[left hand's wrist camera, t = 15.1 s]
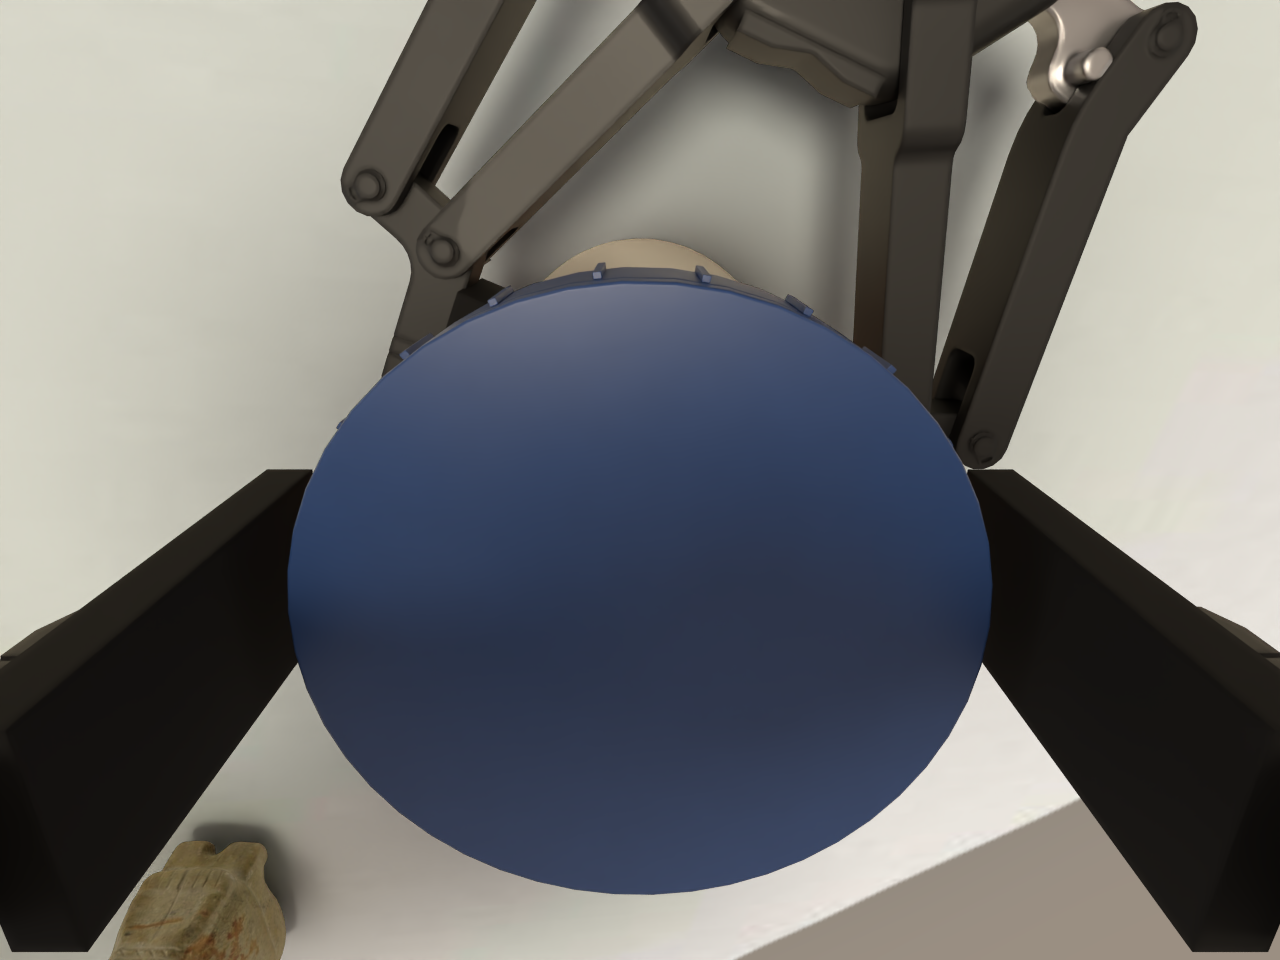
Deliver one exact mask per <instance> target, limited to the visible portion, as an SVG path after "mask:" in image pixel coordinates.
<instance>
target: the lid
mask: <svg viewBox="0 0 1280 960" xmlns="http://www.w3.org/2000/svg"><path fill="white" fill-rule="evenodd" d="M812 313H813V310H812V309H811V308H809V307H808V306H806V305H805V304H804V303H802V302H801V301H799V300H798V299H796V298H795V297H793V296H791V295H789V294H788V295H787V297H786V299H785V300H784V299H781V298H779V297H777V296H775V295H773V294H771V293H768V292H766V291H764V290H762V289H760V288H757V287H753V286H750V285H747V284H743V283H740V282H737V281H733V280H730V279H727V278H724V277H720V276H717V275H712V274H709V273H708V271H707V270H706V269H705V268H704V267H703V266H698V265H696V267H695V272H693V271H687V270H680V269H674V268H650V267H619V268H610V269H606V263H605V262H603V263H598V264H597V265H596V267H595V269H594V270H593V271H584V272H577V273H573V274H569V275H565V276H561V277H557V278H553V279H550V280H546V281H542V282H538V283H534V284H532V285H529V286H527V287H524V288H522V289H519V290H517V291H513V289H512V287H511V286H508V287H506V288H504V289H503V290H501V291H500V292H498V293H497V294H496V295H494V296H493V297H491V298H490V299H489V300H488V303H487V304H485V305H484V306H482V307H480V308H479V309H477V310H475V311H473V312H472V313H470V314H468V315H467V316H465V317H463V318H461V319H460V320H458V321H456V322H454V323H453V324H452V325H450V326H449V327H447V328H446V329H445V330H443V331H442V332H440V333H439V334H438V335H436V336H435V337H434V336H433V335H432V334H431V333H429V334H428V335H426V336H425V337H423V338H422V339H420V340H419V341H418V342H416V343H415V344H413V345H412V346H410V347H409V348H407V349H406V350H404V351H403V352H402V353H401V354H400V356H401V358H402V359H403V361H402V362H401V363H399V364H398V365H397V366H396V367H394V368H393V369H392V370H391V371H389V372H388V373H387V374H385V375H384V376H383V377H382V378H381V379H380V380H379V381H378V382H377V384H376V385H375V386H374V387H373V388H372V389H371V390H370V391H369V392H368V393H367V394H366V395H365V396H364V397H363V398H362V400H361V401H360V402H359V403H358V404H357V405H356V406H355V407H354V408H353V409H352V410H351V411H350V413H349V414H348V416H347V417H346V418H345V419H343V420H342V421H341V422H340V423H339V424H338V426H337V429H338V430H337V432H336V433H335V435H334V436H333V438H332V439H331V440H330V442H329V443H328V445H327V446H326V448H325V449H324V451H323V454H322V456H321V458H320V460H319V462H318V464H317V466H316V468H315V470H314V472H313V474H312V476H311V478H310V481H309V483H308V485H307V487H306V489H305V492H304V496H303V499H302V502H301V506H300V509H299V512H298V516H297V519H296V522H295V525H294V529H293V535H292V542H291V549H290V557H289V564H288V572H287V573H288V615H289V621H290V627H291V633H292V639H293V645H294V651H295V654H296V658H297V661H298V664H299V667H300V670H301V673H302V676H303V679H304V682H305V685H306V689H307V691H308V693H309V695H310V697H311V699H312V701H313V703H314V705H315V707H316V709H317V712H318V714H319V716H320V718H321V720H322V722H323V724H324V726H325V727H326V729H327V730H328V732H329V733H330V735H331V736H332V738H333V739H334V741H335V742H336V744H337V745H338V747H339V748H340V750H341V751H342V753H343V754H344V756H345V757H346V758H347V760H348V761H349V762H350V763H351V764H352V765H353V767H354V768H355V769H356V770H357V771H358V772H359V774H360V775H361V776H362V777H363V778H364V779H365V780H366V782H367V783H368V784H369V785H370V786H371V787H372V788H373V789H374V790H375V791H376V792H377V793H378V794H379V795H381V796H382V797H383V798H384V799H385V800H386V801H387V802H388V803H389V804H390V805H392V806H393V807H394V808H395V809H396V810H397V811H398V812H399V813H401V814H402V815H403V816H405V817H406V818H408V819H409V820H410V821H412V822H413V823H414V824H416V825H417V826H419V827H420V828H421V829H423V830H424V831H426V832H427V833H428V834H430V835H431V836H433V837H435V838H437V839H438V840H440V841H442V842H444V843H445V844H447V845H449V846H451V847H452V848H454V849H456V850H458V851H459V852H461V853H463V854H465V855H467V856H470V857H472V858H474V859H476V860H479V861H481V862H483V863H486V864H488V865H490V866H492V867H495V868H497V869H499V870H502V871H505V872H509V873H512V874H515V875H518V876H521V877H524V878H527V879H531V880H534V881H537V882H541V883H546V884H551V885H556V886H560V887H565V888H570V889H574V890H583V891H591V892H600V893H609V894H642V895H655V894H667V893H680V892H692V891H698V890H703V889H709V888H714V887H720V886H725V885H731V884H734V883H738V882H741V881H745V880H748V879H752V878H755V877H759V876H763V875H766V874H769V873H772V872H774V871H777V870H779V869H782V868H784V867H787V866H789V865H792V864H794V863H797V862H799V861H802V860H804V859H806V858H808V857H810V856H812V855H814V854H816V853H818V852H820V851H822V850H823V849H825V848H827V847H829V846H831V845H833V844H835V843H837V842H839V841H840V840H842V839H843V838H845V837H846V836H848V835H849V834H851V833H852V832H854V831H855V830H857V829H858V828H860V827H861V826H863V825H864V824H866V823H867V822H869V821H870V820H871V819H873V818H874V817H875V816H876V815H877V814H878V813H880V812H881V811H882V810H883V809H884V808H886V807H887V806H888V805H889V804H890V803H892V802H893V801H894V800H895V799H896V798H897V797H899V796H900V795H901V794H902V793H903V792H904V791H905V789H906V788H907V787H908V786H909V785H910V784H911V783H912V782H913V781H914V780H915V779H916V778H917V777H918V776H919V774H920V773H921V772H922V771H923V770H924V769H925V768H926V767H927V766H928V764H929V763H930V761H931V760H932V759H933V757H934V756H935V755H936V753H937V752H938V750H939V749H940V748H941V746H942V745H943V743H944V742H945V741H946V739H947V738H948V737H949V735H950V733H951V731H952V729H953V728H954V726H955V724H956V722H957V720H958V718H959V717H960V715H961V713H962V711H963V709H964V707H965V705H966V704H967V702H968V699H969V697H970V694H971V691H972V689H973V686H974V683H975V681H976V678H977V675H978V673H979V670H980V667H981V664H982V660H983V655H984V651H985V646H986V642H987V637H988V633H989V628H990V617H991V602H992V587H993V584H992V572H991V561H990V549H989V541H988V537H987V533H986V529H985V525H984V521H983V517H982V513H981V509H980V505H979V501H978V499H977V497H976V494H975V492H974V489H973V487H972V485H971V482H970V480H969V478H968V475H967V473H966V470H965V468H964V466H963V463H962V461H961V460H960V458H959V456H958V455H957V453H956V451H955V450H954V448H953V444H952V442H951V440H950V439H949V438H947V437H946V435H945V434H944V432H943V430H942V429H941V427H940V425H939V424H938V422H937V421H936V420H935V419H934V418H933V417H932V415H931V414H930V413H929V412H928V411H927V409H926V408H925V407H924V406H923V405H922V404H921V402H920V401H919V400H918V399H917V398H916V397H915V395H914V394H913V393H912V392H911V391H910V389H909V388H908V387H907V386H906V385H904V384H903V383H902V382H901V381H900V380H899V379H898V378H896V377H895V376H894V375H893V373H894V372H895V371H896V369H895V368H894V367H893V366H892V365H891V364H890V363H888V362H887V361H885V360H884V359H882V358H881V357H880V356H878V355H877V354H875V353H874V352H872V351H871V350H869V349H868V348H866V347H865V346H864V347H863V348H860V347H859V346H857V345H856V344H855V343H853V342H852V341H850V340H849V339H848V338H846V337H845V336H843V335H842V334H841V333H839V332H838V331H836V330H835V329H833V328H832V327H830V326H828V325H827V324H825V323H824V322H822V321H821V320H819V319H818V318H816V317H815V316H813V315H812Z"/></svg>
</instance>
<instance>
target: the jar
mask: <svg viewBox="0 0 1280 960" xmlns="http://www.w3.org/2000/svg"><path fill="white" fill-rule="evenodd" d="M603 262H605V263H606V269H610V268H619V267H650V268H674V269H680V270H687V271H693V272H695V267H696V265H698V266H703V267H704V268H705V269H706V270H707V271H708V273H709V274H712V275H717V276H720V277H724V278H727V279H730V280H733V281H736V280H735V279H734V278H733V277H732V276H731V275H730V274H729V273H727V272H726V271H725V270H724V269H723V268H722V267H720V266H719V265H718V264H717V263H715V262H714V261H712V260H711V259H709V258H707V257H706V256H704V255H703V254H701V253H698V252H696V251H694V250H692V249H690V248H688V247H685V246H682V245H678V244H675V243H672V242H668V241H662V240H656V239H635V238H634V239H625V240H616V241H613V242H609V243H605V244H601V245H598V246H595V247H593V248H590V249H588V250H585V251H583V252H581V253H579V254H578V255H576V256H574V257H572V258H571V259H569V260H567V261H566V262H565V263H563V264H562V265H561V266H560V267H558V268H557V269H556V270H554V271H553V272H552V273H551V274H550V275H549V276H548V277H547V278H546V279H545V280H543V281H546V280H550V279H553V278H557V277H561V276H565V275H569V274H573V273H577V272H584V271H593V270H594V269H595V267H596V265H597V264H598V263H603Z"/></svg>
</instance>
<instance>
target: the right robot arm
mask: <svg viewBox="0 0 1280 960" xmlns="http://www.w3.org/2000/svg"><path fill="white" fill-rule="evenodd" d="M535 2H536V0H428V1H427V3H426V5H425V7H424V9H423V11H422V13H421V15H420V17H419V19H418V21H417V23H416V25H415V27H414V29H413V31H412V33H411V35H410V37H409V39H408V41H407V43H406V45H405V47H404V49H403V51H402V53H401V55H400V57H399V59H398V61H397V63H396V65H395V67H394V69H393V71H392V73H391V75H390V77H389V79H388V81H387V83H386V85H385V87H384V89H383V91H382V93H381V95H380V97H379V99H378V101H377V103H376V105H375V107H374V109H373V111H372V113H371V115H370V117H369V119H368V121H367V123H366V125H365V127H364V129H363V131H362V133H361V135H360V137H359V139H358V141H357V143H356V145H355V147H354V149H353V151H352V153H351V155H350V157H349V159H348V161H347V162H346V164H345V166H344V169H343V172H342V176H341V187H342V193H343V195H344V196H345V198H346V200H347V202H348V204H349V205H350V206H352V207H353V208H354V209H355V210H356V211H357V212H359V213H362V214H364V215H366V216H371V217H372V218H373V219H374V220H376V221H377V222H378V223H379V224H380V225H381V226H382V227H384V228H385V229H386V230H387V231H388V232H389V233H390V234H392V235H393V236H394V237H395V238H396V239H397V240H398V241H399V242H400V243H401V244H402V245H403V247H404V248H405V250H406V252H407V254H408V256H409V260H410V263H411V277H410V282H409V286H408V289H407V292H406V296H405V299H404V302H403V306H402V309H401V312H400V316H399V319H398V322H397V326H396V329H395V332H394V337H393V339H392V343H391V346H390V349H389V354H388V356H387V359H386V363H385V366H384V369H383V373H382V377H383V376H384V375H385V374H387V373H388V372H389V371H391V370H392V369H393V368H394V367H396V366H397V365H398V364H399V363H401V362H402V361H403V359H402V358H401V356H400V354H401V353H402V352H403V351H404V350H406V349H407V348H409V347H410V346H412V345H413V344H415V343H416V342H418V341H419V340H420V339H422V338H423V337H425V336H426V335H428V334H429V333H431V334H432V335H433V336H434V337H435V336H436V335H438V334H439V333H440V332H442V331H443V330H445V329H446V328H447V327H449V326H450V325H452V324H453V323H454V322H456V321H458V320H460V319H461V318H463V317H465V316H467V315H468V314H470V313H472V312H473V311H475V310H477V309H479V308H480V307H482V306H484V305H485V304H487V303H488V300H489V299H490V298H491V297H493V296H494V295H496V294H497V293H498V292H500V291H501V290H503V289H504V287H502V286H499V285H497V284H494V283H492V282H490V281H487V280H485V279H480V280H479V278H480V275H481V272H482V269H483V266H484V264H486V263H488V262H489V261H491V259H490V258H491V257H492V256H493V255H494V254H495V253H496V252H497V251H498V250H499V249H500V248H501V247H502V246H503V245H504V244H505V243H506V242H507V241H508V240H509V239H510V238H511V237H512V236H513V235H514V234H515V233H516V232H517V231H518V230H519V229H520V228H521V227H522V226H523V225H524V224H525V223H526V222H527V221H528V220H529V219H530V218H531V217H532V216H533V215H534V214H535V213H536V212H537V211H538V210H539V209H540V208H541V207H542V206H543V205H544V204H545V203H546V202H547V201H548V200H549V199H550V198H551V197H552V196H553V195H554V194H555V193H556V192H557V191H558V190H559V189H560V188H561V187H562V186H563V185H564V184H565V183H566V182H567V181H568V180H569V179H570V178H571V177H572V176H573V175H574V174H575V173H576V172H577V171H578V170H579V169H580V168H581V167H582V166H583V165H584V164H585V163H586V162H587V161H588V160H589V159H590V158H591V157H593V156H594V155H595V154H596V153H597V152H598V151H599V150H600V149H601V148H602V147H603V146H604V145H605V144H606V143H607V142H608V141H609V140H610V139H611V138H612V137H613V136H614V135H615V134H616V133H617V132H618V131H619V130H620V129H621V128H622V127H623V126H624V125H625V124H626V123H627V122H628V121H629V120H630V119H631V118H632V117H633V116H634V115H635V114H636V113H637V112H638V111H639V110H640V109H641V108H642V107H643V106H644V105H645V104H646V103H647V102H648V101H649V100H650V99H651V98H652V97H653V96H654V95H655V94H656V93H657V92H658V91H659V90H660V89H661V88H662V87H663V86H664V85H665V84H666V83H667V82H668V81H669V80H670V79H671V78H672V77H673V76H674V75H675V74H676V73H678V72H679V71H680V70H681V69H683V68H684V67H685V66H686V65H687V64H688V63H689V62H690V61H691V60H692V59H693V58H694V57H695V56H696V55H697V54H698V53H699V52H700V51H701V50H702V49H703V48H704V47H705V46H706V45H707V44H708V43H709V42H710V41H711V40H712V39H713V38H714V37H715V36H716V35H717V34H718V33H720V34H721V35H722V36H723V37H724V38H725V39H726V40H727V41H728V42H729V43H728V46H727V48H726V49H729V50H731V51H733V52H735V53H737V54H739V55H741V56H743V57H745V58H747V59H749V60H751V61H753V62H755V63H758V64H765V65H771V66H778V67H785V68H791V69H793V70H795V71H796V72H797V73H798V74H799V75H801V76H802V77H803V78H804V79H805V80H806V81H807V82H808V83H809V84H810V85H811V86H812V87H814V88H815V89H816V90H817V91H818V92H819V93H820V94H822V95H824V96H826V97H828V98H830V99H832V100H834V101H836V102H838V103H840V104H843V105H845V106H847V107H849V108H852V107H854V106H857V105H859V115H858V136H857V146H858V153H859V156H860V159H861V164H862V171H861V192H860V212H859V232H858V252H857V272H856V293H855V313H854V333H853V343H855V344H856V345H857V346H859V347H860V348H863V347H864V346H865V347H866V348H868V349H869V350H871V351H872V352H874V353H875V354H877V355H878V356H880V357H881V358H882V359H884V360H885V361H887V362H888V363H890V364H891V365H892V366H893V367H894V368H895V369H896V371H895V372H894V373H893V375H894V376H895V377H896V378H898V379H899V380H900V381H901V382H902V383H903V384H904V385H906V386H907V387H908V388H909V389H910V391H911V392H912V393H913V394H914V395H915V397H916V398H917V399H918V400H919V401H920V402H921V404H922V405H923V406H924V407H925V408H926V409H927V411H928V412H929V413H930V414H931V415H932V417H933V418H934V419H935V420H936V421H937V422H938V424H939V425H940V427H941V429H942V430H943V432H944V434H945V435H946V437H947V438H949V439H950V440H951V442H952V444H953V448H954V450H955V451H956V453H957V455H958V456H959V458H960V460H961V461H962V463H963V464H964V465H965V466H967V467H970V468H972V469H985V468H987V467H990V466H993V465H994V464H995V463H997V462H998V461H999V460H1000V459H1001V458H1002V457H1003V455H1004V453H1005V452H1006V450H1007V448H1008V445H1009V442H1010V440H1011V437H1012V435H1013V432H1014V429H1015V427H1016V424H1017V422H1018V419H1019V416H1020V414H1021V411H1022V409H1023V406H1024V403H1025V401H1026V398H1027V396H1028V393H1029V390H1030V388H1031V385H1032V383H1033V380H1034V378H1035V375H1036V372H1037V370H1038V367H1039V365H1040V362H1041V359H1042V357H1043V354H1044V352H1045V349H1046V346H1047V344H1048V341H1049V339H1050V336H1051V333H1052V331H1053V328H1054V326H1055V323H1056V320H1057V318H1058V315H1059V313H1060V310H1061V307H1062V305H1063V302H1064V300H1065V297H1066V294H1067V292H1068V289H1069V287H1070V284H1071V281H1072V279H1073V276H1074V274H1075V271H1076V268H1077V266H1078V263H1079V261H1080V258H1081V256H1082V253H1083V250H1084V248H1085V245H1086V243H1087V240H1088V237H1089V235H1090V232H1091V230H1092V227H1093V224H1094V222H1095V219H1096V217H1097V214H1098V211H1099V209H1100V206H1101V204H1102V201H1103V198H1104V196H1105V193H1106V191H1107V188H1108V185H1109V183H1110V180H1111V178H1112V175H1113V172H1114V170H1115V167H1116V165H1117V162H1118V159H1119V157H1120V154H1121V152H1122V149H1123V146H1124V144H1125V141H1126V139H1127V136H1128V135H1129V133H1130V132H1131V131H1132V129H1133V128H1134V127H1135V125H1136V124H1137V123H1138V121H1139V120H1140V119H1141V117H1142V116H1143V115H1144V113H1145V112H1146V111H1147V109H1148V108H1149V107H1150V105H1151V104H1152V103H1153V101H1154V100H1155V99H1156V97H1157V96H1158V95H1159V93H1160V92H1161V91H1162V89H1163V88H1164V87H1165V85H1166V84H1167V83H1168V82H1169V80H1170V79H1171V78H1172V76H1173V75H1174V74H1175V72H1176V71H1177V70H1178V68H1179V67H1180V66H1181V64H1182V63H1183V62H1184V60H1185V59H1186V58H1187V56H1188V55H1189V53H1190V51H1191V49H1192V47H1193V46H1194V44H1195V41H1196V35H1197V30H1198V27H1197V22H1196V16H1195V15H1194V14H1193V12H1192V11H1191V9H1190V8H1189V7H1188V6H1186V5H1184V4H1181V3H1179V2H1170V3H1164V4H1161V5H1158V6H1155V7H1153V8H1150V9H1147V10H1142V9H1141V8H1139V7H1138V6H1136V5H1135V4H1134V3H1133V2H1131V1H1130V0H642V1H641V2H640V3H639V4H638V6H637V7H636V8H635V9H634V10H633V11H632V12H631V13H630V14H629V15H628V16H627V17H626V18H625V19H624V20H623V21H622V22H621V23H620V25H619V26H618V27H617V28H616V29H615V30H614V31H613V32H612V33H611V34H610V35H609V36H608V37H607V38H606V39H605V40H604V41H603V42H602V43H601V44H600V45H599V46H598V47H597V48H596V49H595V51H594V52H593V53H592V54H591V55H590V56H589V57H588V58H587V59H586V60H585V61H584V62H583V63H582V64H581V65H580V66H579V67H578V68H577V69H576V70H575V71H574V72H573V73H572V74H571V75H570V77H569V78H568V79H567V80H566V81H565V82H564V83H563V84H562V85H561V86H560V87H559V88H558V89H557V90H556V91H555V92H554V93H553V94H552V95H551V96H550V97H549V98H548V99H547V100H546V101H545V102H544V104H543V105H542V106H541V107H540V108H539V109H538V110H537V111H536V112H535V113H534V114H533V115H532V116H531V117H530V118H529V119H528V120H527V121H526V122H525V123H524V124H523V125H522V126H521V127H520V128H519V130H518V131H517V132H516V133H515V134H514V135H513V136H512V137H511V138H510V139H509V140H508V141H507V142H506V143H505V144H504V145H503V146H502V147H501V148H500V149H499V150H498V151H497V152H496V153H495V154H494V156H493V157H492V158H491V159H490V160H489V161H488V162H487V163H486V164H485V165H484V166H483V167H482V168H481V169H480V170H479V171H478V172H477V173H476V174H475V175H474V176H473V177H472V178H471V179H470V180H469V182H468V183H467V184H466V185H465V186H464V187H463V188H462V189H461V190H460V191H459V192H458V193H457V194H456V195H455V196H454V197H453V198H452V199H451V200H450V199H449V198H448V197H447V196H446V195H445V194H444V193H442V192H441V191H440V190H439V189H438V188H437V187H436V186H435V185H436V183H437V181H438V179H439V178H440V176H441V174H442V172H443V170H444V168H445V167H446V165H447V163H448V161H449V159H450V157H451V156H452V154H453V152H454V150H455V148H456V147H457V145H458V143H459V141H460V139H461V137H462V136H463V134H464V132H465V130H466V128H467V126H468V125H469V123H470V121H471V119H472V117H473V115H474V114H475V112H476V110H477V108H478V106H479V105H480V103H481V101H482V99H483V97H484V95H485V94H486V92H487V90H488V88H489V86H490V84H491V83H492V81H493V79H494V77H495V75H496V73H497V72H498V70H499V68H500V66H501V64H502V62H503V61H504V59H505V57H506V55H507V53H508V52H509V50H510V48H511V46H512V44H513V42H514V41H515V39H516V37H517V35H518V33H519V31H520V30H521V28H522V26H523V24H524V22H525V20H526V19H527V17H528V15H529V13H530V11H531V9H532V8H533V6H534V4H535ZM1027 21H1028V22H1029V23H1030V24H1031V25H1032V26H1033V28H1034V30H1035V33H1036V35H1037V43H1038V46H1037V53H1036V56H1035V59H1034V61H1033V64H1032V66H1031V68H1030V71H1029V75H1028V78H1027V82H1026V83H1027V88H1028V90H1029V91H1030V93H1031V95H1032V97H1033V98H1034V99H1035V102H1034V104H1033V105H1032V107H1031V108H1030V110H1029V111H1028V113H1027V115H1026V117H1025V119H1024V121H1023V123H1022V125H1021V127H1020V129H1019V131H1018V133H1017V135H1016V137H1015V140H1014V143H1013V145H1012V148H1011V150H1010V153H1009V155H1008V158H1007V161H1006V164H1005V167H1004V170H1003V173H1002V176H1001V179H1000V182H999V185H998V188H997V191H996V194H995V197H994V200H993V203H992V206H991V209H990V212H989V215H988V218H987V221H986V224H985V227H984V230H983V233H982V236H981V239H980V242H979V245H978V248H977V251H976V254H975V256H974V259H973V262H972V265H971V268H970V271H969V274H968V277H967V280H966V283H965V286H964V289H963V292H962V295H961V298H960V301H959V304H958V307H957V310H956V313H955V316H954V319H953V322H952V325H951V328H950V331H949V334H948V337H947V340H946V343H945V346H944V349H943V352H942V355H941V358H940V361H939V364H938V367H937V370H936V372H935V375H934V364H935V353H936V342H937V331H938V320H939V308H940V297H941V286H942V275H943V264H944V252H945V241H946V230H947V219H948V208H949V197H950V185H951V174H952V163H953V157H954V154H955V152H956V150H957V148H958V146H959V145H960V143H961V141H962V138H963V135H964V131H965V125H966V117H967V106H968V95H969V85H970V74H971V63H972V56H974V55H975V54H977V53H978V52H980V51H982V50H983V49H985V48H986V47H988V46H990V45H991V44H993V43H994V42H996V41H997V40H999V39H1001V38H1002V37H1004V36H1005V35H1007V34H1008V33H1010V32H1012V31H1013V30H1015V29H1016V28H1018V27H1019V26H1021V25H1023V24H1024V23H1026V22H1027ZM933 376H934V378H933Z"/></svg>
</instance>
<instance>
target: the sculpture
mask: <svg viewBox="0 0 1280 960" xmlns="http://www.w3.org/2000/svg"><path fill="white" fill-rule="evenodd" d="M267 855H268V854H267V850H266V848H265V847H264V846H263V845H262V844H260V843H251V842H235V843H232V844H230V845H229V846H228V847H227V848H225V849H224V850H223V851H222V852H220V853H218V854H216V853H215V845H213V844H212V843H210V842H208V841H189V842H183V843H181V844H179V845H178V846H177V847H176V848H175V850H174V852H173V853H172V855H171V856H170V858H169V860H168V861H167V863H166V865H165V866H164V868H163V870H162V871H161V872H157V873H154V874H152V875H151V876H149V877H148V878H147V879H146V880H145V881H144V882H143V883H142V885H141V887H140V889H139V891H138V893H137V895H136V896H135V898H134V899H133V901H132V902H131V905H130V907H129V909H128V911H127V913H126V916H125V918H124V920H123V922H122V925H121V927H120V930H119V932H118V935H117V938H116V942H115V945H114V948H113V951H112V954H111V956H110V958H109V960H280V958H281V956H282V953H283V949H284V945H285V938H286V928H285V921H284V917H283V913H282V910H281V908H280V905H279V903H278V901H277V899H276V898H275V896H274V895H273V894H272V893H271V891H270V890H269V888H268V886H267V885H266V883H265V880H264V865H265V863H266V860H267Z"/></svg>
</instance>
